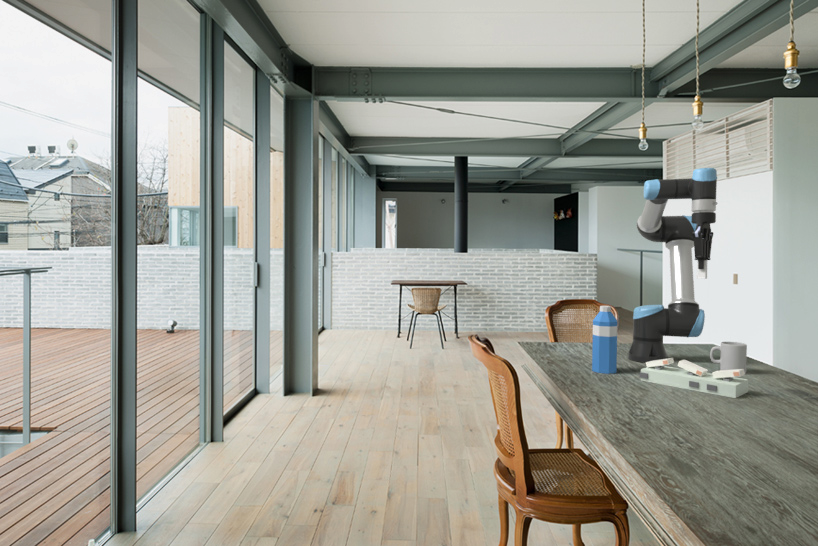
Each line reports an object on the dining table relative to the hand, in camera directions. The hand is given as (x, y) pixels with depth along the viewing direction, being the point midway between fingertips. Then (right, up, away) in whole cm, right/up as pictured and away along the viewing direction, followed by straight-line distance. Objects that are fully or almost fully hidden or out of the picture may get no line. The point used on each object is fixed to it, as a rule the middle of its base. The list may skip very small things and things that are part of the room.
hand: (702, 278), depth 185 cm
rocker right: (-1, -31, -17) cm, 35 cm away
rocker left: (-15, -30, 0) cm, 34 cm away
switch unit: (-8, -37, -8) cm, 38 cm away
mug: (+18, -36, +14) cm, 43 cm away
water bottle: (-30, -36, +14) cm, 49 cm away
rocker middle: (-8, -31, -8) cm, 33 cm away
